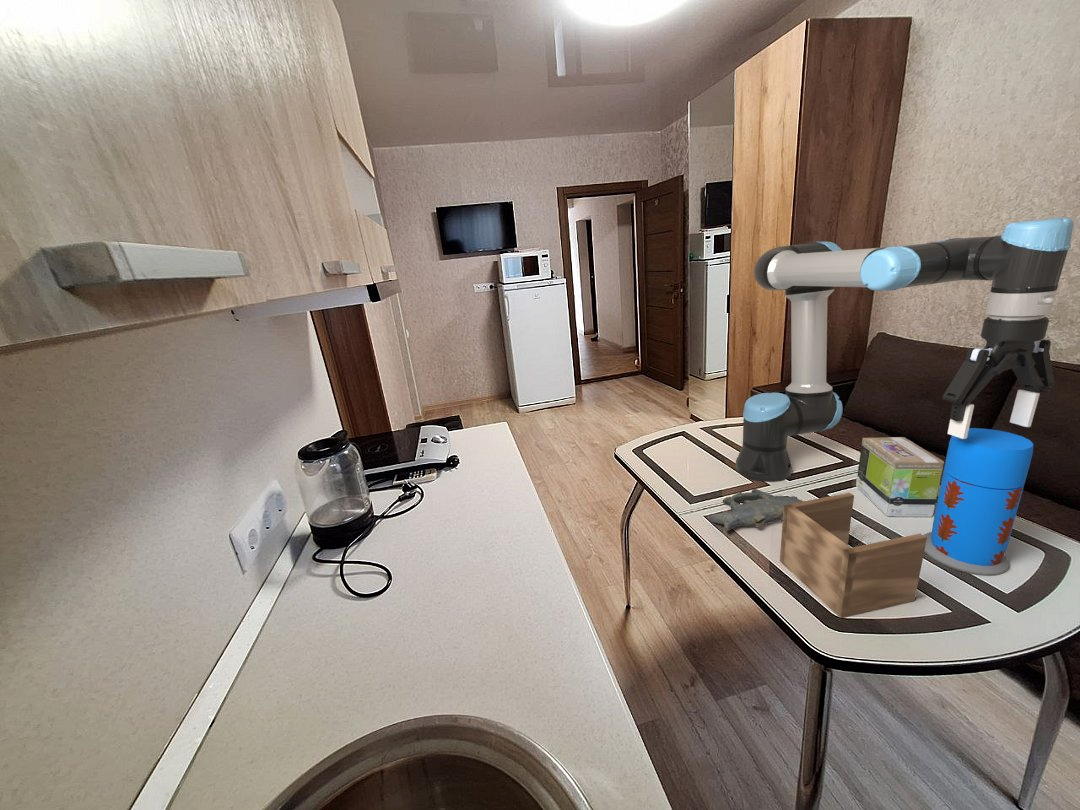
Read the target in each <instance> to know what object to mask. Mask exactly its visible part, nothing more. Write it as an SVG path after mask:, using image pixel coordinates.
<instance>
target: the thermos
mask: <svg viewBox="0 0 1080 810" xmlns="http://www.w3.org/2000/svg"><path fill="white" fill-rule="evenodd" d="M1033 454H1034V443H1033V442H1032V441H1031V439H1028V438H1026V437H1024V436H1023V435H1018V434H1016V433H1012V432H1009V431H1003V430H997V429H989V428H978V427H977V428H976V427H969V431H968V435H967V438H966V439H962V438H959V437H956V436H953V435H951V437H950V440H949V441H948V448H947V452H946V457H945V462H944V466H943V470H942V475H941V480H940V485H939V490H938V495H937V500H936V505H935V510H934V511H935V512H934V515H933V517H934V518H933V520H932V528H931V532H932V536H931V541H932V545H933V546H934V547H935V548H936V549H937V550H938V551H940V552H941V553H943V554H945V555H946V556H948V557H951V558H953V559H955V560H958V561H961V562H965V563H968V564H972V565H979V566H994V565H997V564H999V563H1001V561H1002V559H1003V556H1004V555H1005V553H1006V550H1007V548H1008V546H1009V544H1010V543H1009V542H1010V538H1011V535H1012V531H1013V528H1014V524H1015V520H1016V517H1017V513H1018V509H1019V506H1020V502H1021V499H1022V495H1023V491H1024V488H1025V487H1024V486H1025V483H1026V479H1027V476H1028V472H1029V469H1030V466H1031V461H1032V457H1033Z"/></svg>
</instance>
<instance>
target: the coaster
mask: <svg viewBox="0 0 1080 810" xmlns="http://www.w3.org/2000/svg"><path fill="white" fill-rule="evenodd" d="M923 535H924V536H926V537H927V541H926V546H925V551H924V554H926V555H927V556H928V557H929V558H931V559H932V560H934V561H936V562H937V563H939V564H940V565H943V566H946V567H948V568H949V569H953V570H955V571H958V572H963V573H966V574H971V575H975V576H976V575H977V576H985V577H986V576H987V577H990V576H991V577H992V576H1000V575H1002V574H1005V573H1007V571H1008V569H1009V567H1010V561H1009V559H1008V557H1007V555H1005V554H1004V556H1003V559H1002V561H1001V563H999V564H997V565H994V566H979V565H972V564H968V563H965V562H961V561H958V560H955V559H953V558H951V557H948V556H946V555H945V554H943V553H941V552H940V551H938V550H937V549H936V548H935V547H934V546H933V545H932V541H931V536H932V531H930V532H926V533H924V534H923Z"/></svg>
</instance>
